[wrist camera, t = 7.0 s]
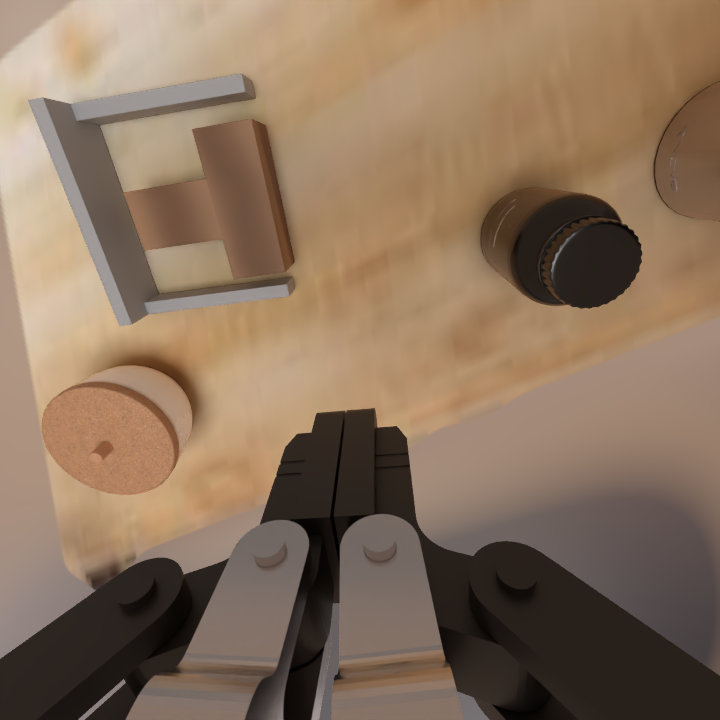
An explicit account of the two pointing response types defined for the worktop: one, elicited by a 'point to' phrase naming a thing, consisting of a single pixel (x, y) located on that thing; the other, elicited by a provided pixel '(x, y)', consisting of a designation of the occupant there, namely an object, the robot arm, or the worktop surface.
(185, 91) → the grey fence
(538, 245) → the supplement bottle
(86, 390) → the lidded jar
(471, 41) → the worktop surface
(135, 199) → the t block
